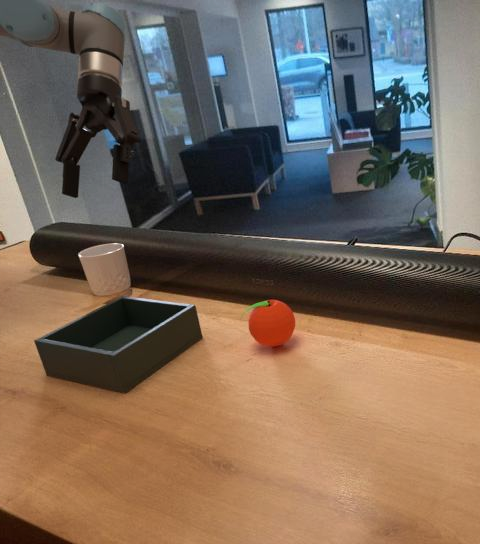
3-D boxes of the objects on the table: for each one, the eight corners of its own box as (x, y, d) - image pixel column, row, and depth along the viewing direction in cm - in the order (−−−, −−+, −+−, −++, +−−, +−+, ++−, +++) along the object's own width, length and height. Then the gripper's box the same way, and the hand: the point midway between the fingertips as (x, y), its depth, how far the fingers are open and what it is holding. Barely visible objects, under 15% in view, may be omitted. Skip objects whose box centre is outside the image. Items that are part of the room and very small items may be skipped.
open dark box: (46, 375, 72) (33, 340, 69) (130, 326, 85) (122, 295, 83) (125, 393, 66) (113, 355, 63) (203, 337, 79) (195, 304, 77)
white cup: (135, 299, 96) (122, 251, 92) (90, 309, 93) (75, 259, 90) (136, 286, 103) (124, 240, 99) (95, 294, 100) (80, 248, 97)
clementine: (242, 358, 72) (233, 314, 69) (248, 336, 78) (240, 295, 75) (297, 352, 72) (291, 308, 69) (298, 330, 78) (292, 289, 76)
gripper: (163, 75, 93) (159, 181, 89) (75, 109, 104) (69, 206, 100) (129, 53, 86) (124, 167, 83) (39, 92, 97) (31, 195, 93)
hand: (94, 189), depth 91 cm, fingers open, 13 cm apart
